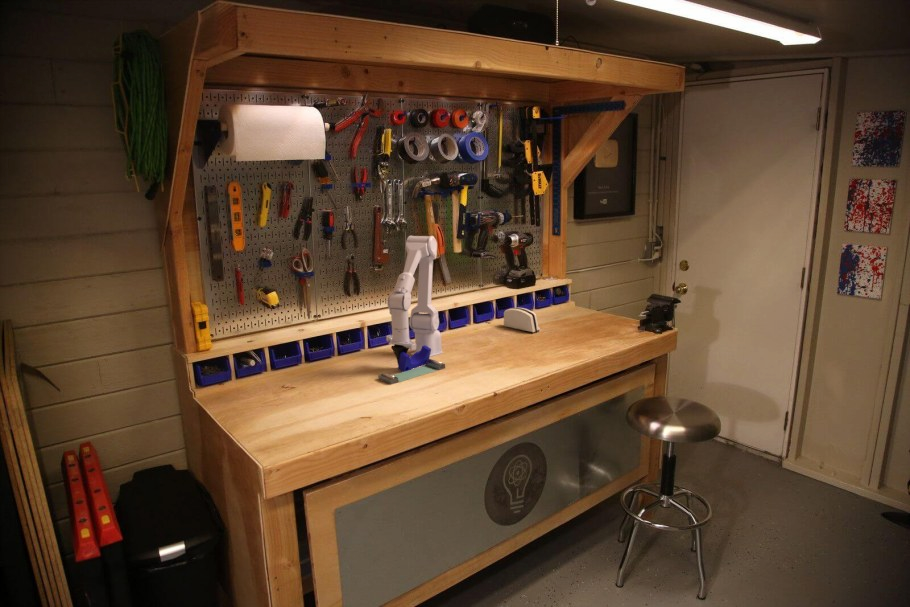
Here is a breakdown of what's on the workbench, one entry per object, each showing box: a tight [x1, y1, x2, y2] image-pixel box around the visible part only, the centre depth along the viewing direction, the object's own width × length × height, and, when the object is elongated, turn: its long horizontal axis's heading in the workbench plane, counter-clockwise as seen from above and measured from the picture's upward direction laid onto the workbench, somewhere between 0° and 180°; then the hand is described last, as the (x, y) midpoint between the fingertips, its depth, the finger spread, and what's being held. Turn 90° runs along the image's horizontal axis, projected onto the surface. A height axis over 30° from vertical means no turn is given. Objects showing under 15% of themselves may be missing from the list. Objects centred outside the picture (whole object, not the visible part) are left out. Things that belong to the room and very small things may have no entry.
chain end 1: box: [377, 371, 399, 385], centre depth 199 cm, size 3×7×2 cm, turn 42°
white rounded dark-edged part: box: [503, 307, 541, 333], centre depth 257 cm, size 17×5×10 cm, turn 43°
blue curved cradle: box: [397, 345, 431, 372], centre depth 212 cm, size 12×4×6 cm, turn 139°
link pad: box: [391, 365, 438, 383], centre depth 206 cm, size 16×7×1 cm, turn 132°
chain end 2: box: [425, 358, 446, 371], centre depth 212 cm, size 3×7×2 cm, turn 42°
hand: (401, 365), depth 211 cm, fingers closed, pressing on blue curved cradle
